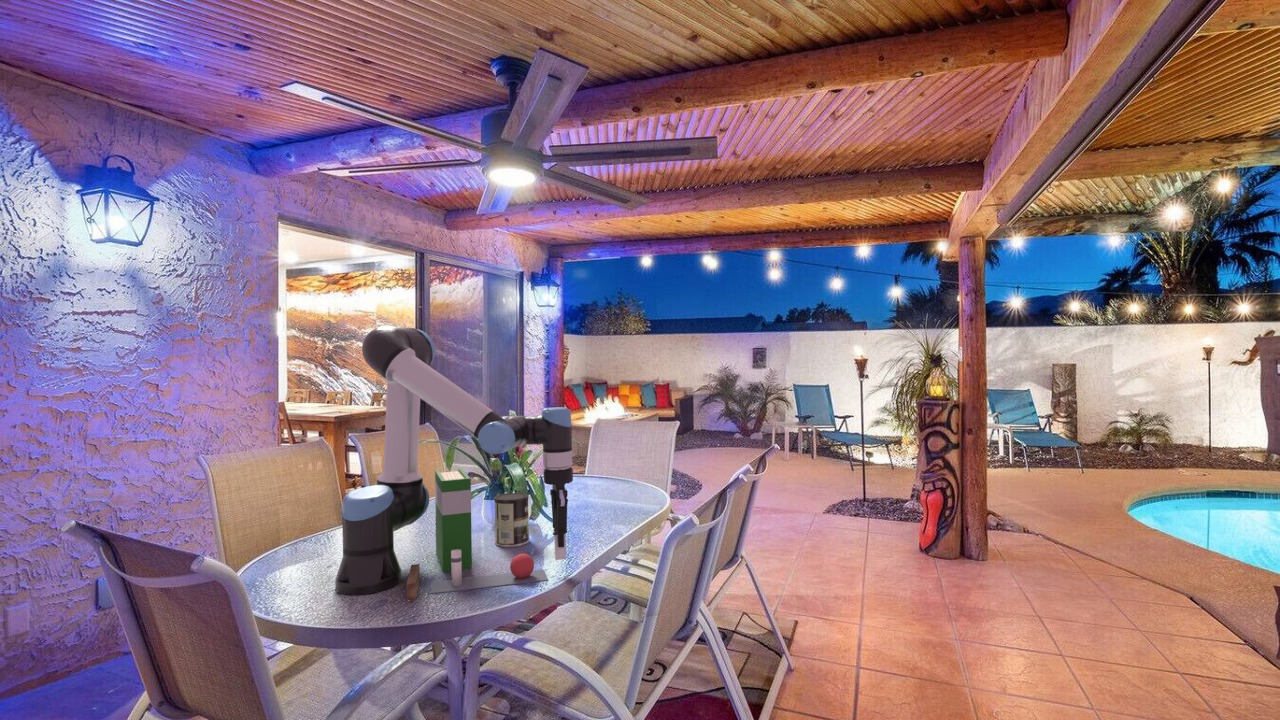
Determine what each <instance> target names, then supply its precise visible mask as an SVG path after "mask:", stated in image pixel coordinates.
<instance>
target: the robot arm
mask: <svg viewBox="0 0 1280 720" xmlns="http://www.w3.org/2000/svg"><path fill="white" fill-rule="evenodd" d="M361 352H362V358H363V360H364V361H365V363H366V364H367V366H369V367H370V368H371V370H373V371H374V372H376V373H377V374H378V375H380V376H381V378H382V379H383V380H384V381H385V383H386V404H385V405H386V406H385V425H384V426H385V427H384V429H385V430H384V446H383V448H384V449H383V471H382V472H381V474H379V475H378V476H377V477H376V484H374V485H367V486H365V487H359V488H355V489H353V490H351V491H350V492H348V493H346V495H344V497H343V500H342V507H341V511H340V512H341V516H342V517H341V518H342V519H341V521H342V526H341V527H342V558H341V561H340V565H339V567H338V570H337V574H336V576H335V579H334V580H335V582H334V583H335V585H334V586H335V588H336V589H335V591H336V590H337V591H338V592H337V591H336V592H337V593H339V592H340V593H339V594H342V593H345V594H344V595H349V594H360V595H369V594H374V593H378V592H382V591H386V590H388V589H392V588H393V587H395V586H397V585H398V584H400V582H401V581H402V575H403V574H402V573H403V572H402V569H401V566H400V563H399V561H398V557H397V555H396V552H395V547H394V544H395V543H394V542H395V541H394V532H396V531H397V530H400V529H402V528H404V527H406V526H409V525H412V524H413V523H415V522H416V521H417V520H419V519H421V517H423V515H425V513H426V512H427V509H428V508H429V504H430V494H429V490H428V488H427V487H426V485H425V484H424V483H423V481H424V480H423V478H424V477H423V475H422V474H421V472H419V470H418V463H419V462H418V457H419V439H420V438H419V435H420V433H419V432H420V414H421V413H420V411H421V400H422V401H423V402H425V403H426V404H428V405H429V406H431V407H432V408H434V409H435V410H436V411H438V412H439V413H441V414H442V415H443V416H445V417H446V418H447V419H449V420H451V421H452V422H453V423H454V424H456V425H457V426H459V427H460V428H461V429H463V430H464V431H466V432H467V433H469V434H470V435H472V436H473V437H474V438H475V439H477V441H478V445H479V446H480V448H481V450H482V451H484V452H485V453H488V454H490V455H491V454H492V455H497V454H504V453H506V452H508V451H510V450H512V449H516V448H518V447H520V446H527V445H529V446H530V445H534V446H535V445H537V446H538V445H539V446H540V445H542V466H543V467H544V469H543V483H544V484H546V485H551V486H552V487H551V488H552V489H549V491H550V492H549V493H550V494H549V495H550V497H551V512H552V513H551V514H552V528H553V532H552V535H553V536H554V537H553V538H554V539H553V540H554V559H555V560H557V561H558V560H560V561H561V560H565V559H567V539H566V536H567V535H566V534H567V533H568V502H569V499H568V497H569V496H568V493H569V492H568V490H567V489H566V486H565V485H566V484H570V483H573V481H574V469H573V467H572V466H573V458H574V457H575V453H573V435H572V434H573V430H572V428H573V424H572V413H571V410H570V408H568V407H565V406H564V407H561V406H560V407H559V406H557V407H545V408H543V409H542V411H541V415H513V414H512V415H507V416H506V415H505V416H500V415H499V414H498V413H496V412H495V411H494V410H492V409H491V408H490V407H488V406H487V405H485V404H484V403H482V402H481V401H480V400H478V399H477V398H475V397H474V396H472V395H471V394H470V393H468V392H467V391H465V390H464V389H462V388H461V387H460V386H458V385H457V384H455V383H454V382H453V381H452V380H449V379H448V378H447V377H446V376H444V375H443V374H441V373H440V372H438V371H437V370H435V369H434V368H432V367H431V364H432V363H433V362H434V360H435V357H436V346H435V343H434V341H433V339H432V337H430V335H429V334H428V333H426V332H425V331H423V330H421V329H417V328H415V327H413V328H412V327H401V326H400V327H399V326H392V325H390V326H389V325H388V326H387V325H383V326H379V327H376V328H374V329H372V330H371V331H370V332H369V333H368V334H367V335H365V337H364V339H363V342H362V347H361Z"/></svg>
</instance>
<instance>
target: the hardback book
mask: <svg viewBox="0 0 1280 720" xmlns="http://www.w3.org/2000/svg"><path fill="white" fill-rule="evenodd" d="M471 482H472V479H471V477H470V476H469V475H468V474H467V473H466V472H465V470H463V468H458V469H457V471H456V470H454V471H447V472H446V471H442V472H440V470H439V469H437V470H434V486H435V487H434V488H435V490H434V491H435V493H434V494H435V498H434V499H435V554H436V557H437V560H438V562H439V565H440V568H441V571H442V573H449V572H450V573H451V551H452V550H455V549H460V550H461V556H462V561H461V562H462V571H464V570H469V569H473V562H472V561H473V557H472V556H473V555H472V554H473V553H472V552H473V551H472V550H473V549H472V548H473V547H472V543H473V542H472V483H471Z"/></svg>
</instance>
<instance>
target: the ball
mask: <svg viewBox="0 0 1280 720" xmlns="http://www.w3.org/2000/svg"><path fill="white" fill-rule="evenodd" d="M509 568H510V573H512V574H513V575H514V576H515V577H517V578H521V579H522V578H526V577H528V576H529V575H530V574H531V573H532V572H533V570H535V562H534V560H533V558H532V557H531V555H529V554H527V553H518V554H517V555H515V556H514V557H513V558H512V560H511V561H510V566H509Z"/></svg>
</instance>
